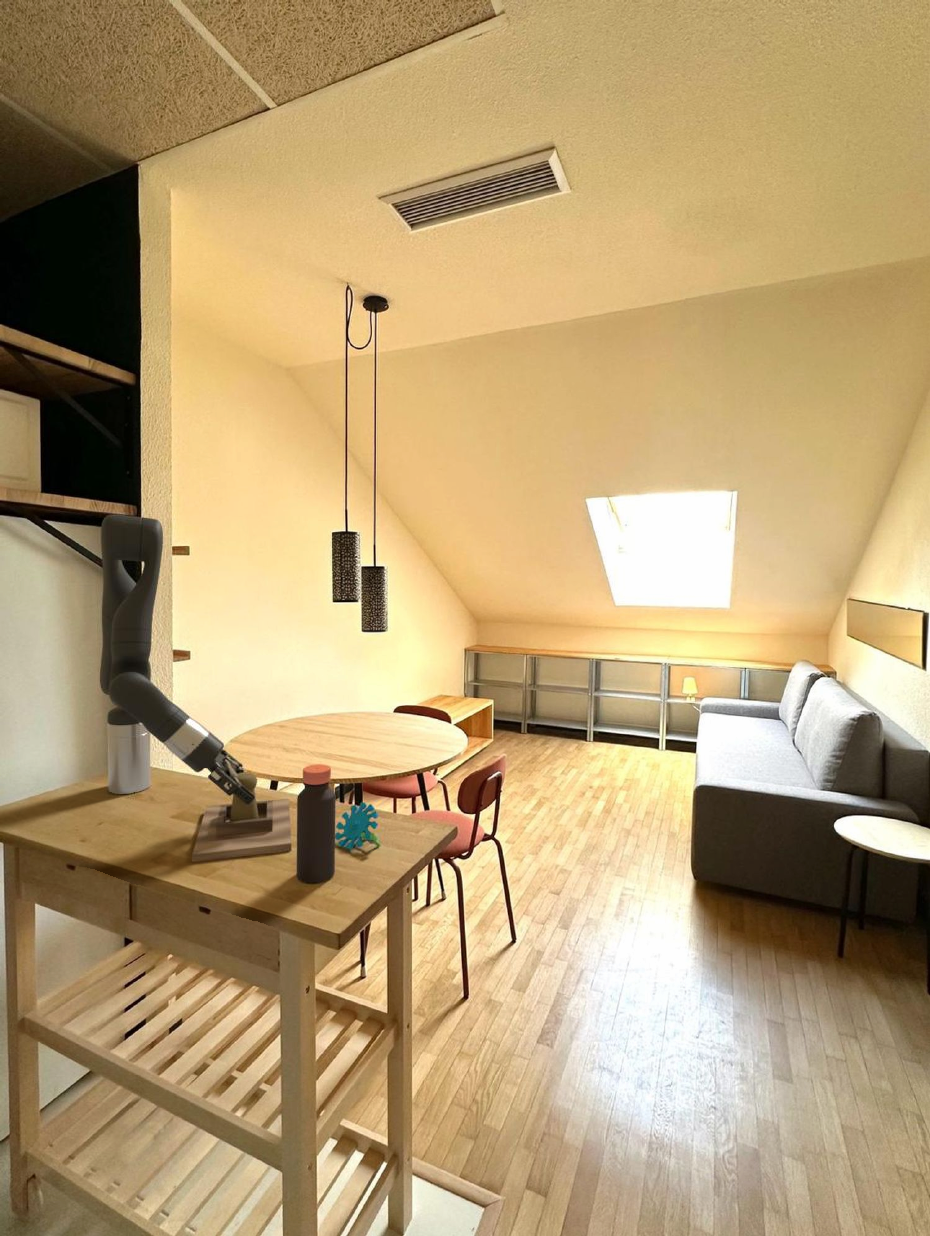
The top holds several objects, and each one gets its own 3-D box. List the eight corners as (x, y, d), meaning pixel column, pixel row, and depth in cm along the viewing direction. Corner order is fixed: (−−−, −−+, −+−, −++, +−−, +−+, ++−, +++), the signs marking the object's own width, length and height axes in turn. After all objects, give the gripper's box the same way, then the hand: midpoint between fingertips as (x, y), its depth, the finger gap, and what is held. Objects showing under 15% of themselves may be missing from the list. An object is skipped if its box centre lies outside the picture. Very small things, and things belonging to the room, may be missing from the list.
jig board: (206, 812, 131) (206, 795, 130) (288, 804, 136) (288, 788, 136) (192, 862, 108) (192, 841, 108) (291, 850, 114) (291, 831, 114)
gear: (325, 832, 119) (357, 793, 122) (341, 844, 122) (372, 806, 126) (352, 859, 111) (386, 816, 114) (369, 871, 114) (401, 829, 118)
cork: (246, 816, 126) (246, 767, 125) (265, 822, 123) (265, 772, 122) (222, 826, 120) (222, 775, 120) (241, 833, 117) (241, 781, 117)
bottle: (290, 872, 105) (291, 766, 104) (325, 862, 109) (326, 760, 108) (305, 889, 100) (306, 777, 99) (340, 877, 104) (342, 770, 103)
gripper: (203, 740, 112) (265, 792, 116) (211, 722, 125) (266, 769, 130) (174, 769, 110) (237, 820, 115) (185, 748, 124) (241, 794, 128)
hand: (252, 793), depth 122 cm, fingers open, 8 cm apart
